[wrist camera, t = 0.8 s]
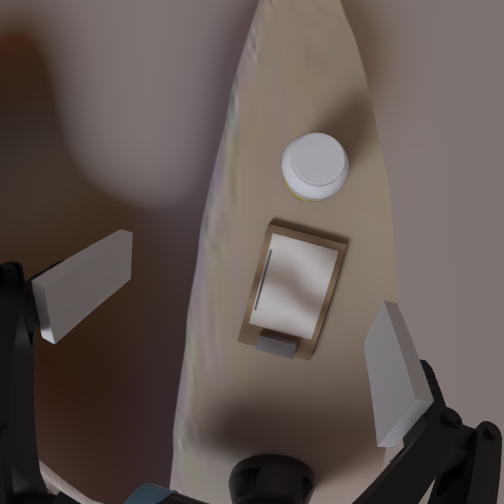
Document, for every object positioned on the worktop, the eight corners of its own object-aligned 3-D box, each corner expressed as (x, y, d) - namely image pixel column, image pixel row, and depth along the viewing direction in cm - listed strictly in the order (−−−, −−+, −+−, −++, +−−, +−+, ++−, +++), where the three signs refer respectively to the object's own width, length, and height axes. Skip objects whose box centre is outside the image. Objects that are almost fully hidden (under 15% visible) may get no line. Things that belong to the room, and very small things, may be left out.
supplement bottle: (303, 141, 37) (310, 107, 24) (345, 172, 37) (371, 152, 24) (272, 182, 38) (264, 165, 26) (315, 214, 38) (327, 212, 25)
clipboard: (309, 357, 40) (310, 364, 38) (238, 338, 41) (236, 345, 39) (345, 244, 38) (348, 245, 36) (269, 223, 39) (267, 223, 37)
